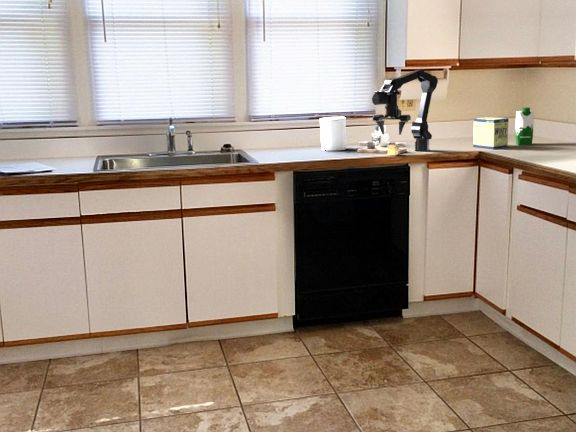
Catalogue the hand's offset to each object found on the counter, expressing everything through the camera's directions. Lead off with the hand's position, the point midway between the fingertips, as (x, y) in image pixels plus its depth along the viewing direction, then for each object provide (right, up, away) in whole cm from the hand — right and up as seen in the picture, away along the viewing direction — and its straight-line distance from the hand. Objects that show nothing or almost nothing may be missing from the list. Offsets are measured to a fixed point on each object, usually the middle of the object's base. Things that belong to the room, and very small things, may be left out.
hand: (391, 134), depth 351 cm
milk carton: (+75, -3, +22) cm, 79 cm away
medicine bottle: (0, -2, +39) cm, 39 cm away
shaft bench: (-3, -8, +13) cm, 16 cm away
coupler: (+1, -10, +1) cm, 10 cm away
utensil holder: (-28, -5, +32) cm, 43 cm away
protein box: (+55, -5, +16) cm, 58 cm away
